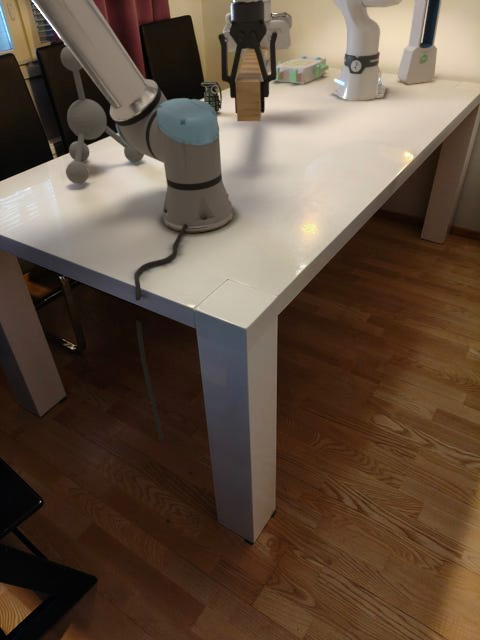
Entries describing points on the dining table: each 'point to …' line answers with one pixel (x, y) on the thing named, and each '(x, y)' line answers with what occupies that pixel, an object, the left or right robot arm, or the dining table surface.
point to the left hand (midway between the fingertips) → (250, 111)
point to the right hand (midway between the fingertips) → (257, 66)
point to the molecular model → (86, 125)
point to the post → (249, 87)
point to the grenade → (212, 95)
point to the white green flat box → (301, 69)
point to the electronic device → (421, 44)
